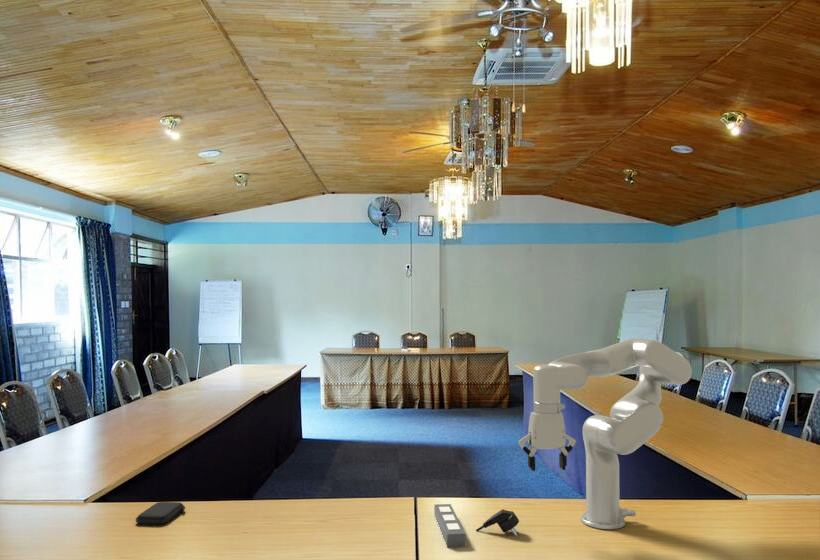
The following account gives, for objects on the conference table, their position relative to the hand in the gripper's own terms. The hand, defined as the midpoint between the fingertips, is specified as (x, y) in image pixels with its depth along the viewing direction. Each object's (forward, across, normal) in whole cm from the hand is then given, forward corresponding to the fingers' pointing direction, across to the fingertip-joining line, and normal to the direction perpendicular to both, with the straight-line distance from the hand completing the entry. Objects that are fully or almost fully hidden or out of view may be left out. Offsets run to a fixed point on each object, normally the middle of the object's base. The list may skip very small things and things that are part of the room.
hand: (547, 468), depth 177 cm
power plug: (+18, +15, -1) cm, 23 cm away
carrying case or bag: (+18, +114, -22) cm, 117 cm away
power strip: (+18, +28, -4) cm, 34 cm away
